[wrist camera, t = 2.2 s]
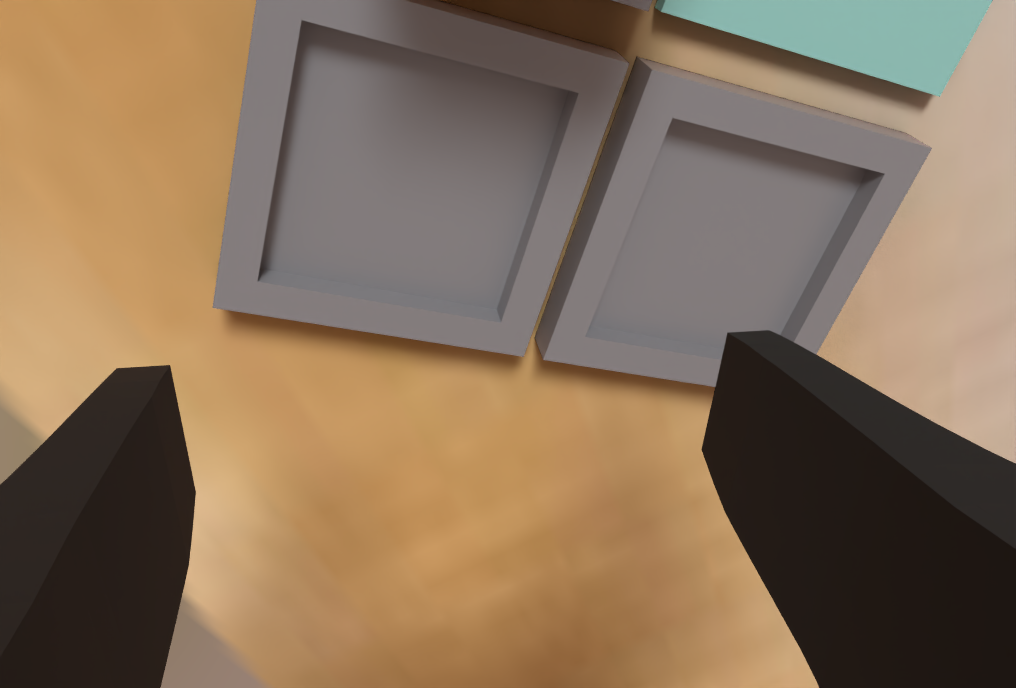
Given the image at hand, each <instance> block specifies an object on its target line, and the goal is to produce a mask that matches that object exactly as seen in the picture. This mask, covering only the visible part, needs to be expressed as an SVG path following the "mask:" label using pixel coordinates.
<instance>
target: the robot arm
mask: <svg viewBox="0 0 1016 688" xmlns="http://www.w3.org/2000/svg"><path fill="white" fill-rule="evenodd" d="M702 452H703V455H704V458H705V460H706V463H707V466H708V469H709V472H710V474H711V477H712V480H713V483H714V485H715V488H716V490H717V493H718V495H719V498H720V500H721V503H722V505H723V508H724V510H725V513H726V515H727V517H728V518H729V520H730V522H731V524H732V526H733V528H734V530H735V532H736V533H737V535H738V537H739V539H740V541H741V543H742V544H743V546H744V548H745V550H746V552H747V554H748V556H749V557H750V559H751V561H752V563H753V565H754V566H755V568H756V570H757V572H758V574H759V575H760V577H761V579H762V581H763V583H764V584H765V586H766V588H767V590H768V591H769V593H770V595H771V597H772V599H773V600H774V602H775V604H776V606H777V608H778V609H779V611H780V613H781V615H782V617H783V618H784V620H785V622H786V624H787V626H788V627H789V629H790V631H791V633H792V635H793V636H794V638H795V640H796V642H797V644H798V645H799V647H800V649H801V651H802V653H803V655H804V657H805V659H806V661H807V663H808V665H809V667H810V669H811V671H812V673H813V675H814V677H815V679H816V681H817V683H818V685H819V688H1016V464H1015V463H1013V462H1011V461H1009V460H1007V459H1005V458H1003V457H1000V456H998V455H996V454H994V453H992V452H990V451H988V450H986V449H984V448H982V447H980V446H978V445H976V444H974V443H973V442H971V441H969V440H967V439H965V438H963V437H961V436H959V435H957V434H955V433H953V432H951V431H949V430H947V429H945V428H944V427H942V426H940V425H938V424H936V423H934V422H932V421H931V420H929V419H927V418H925V417H923V416H921V415H920V414H918V413H916V412H914V411H912V410H911V409H909V408H907V407H905V406H904V405H902V404H900V403H898V402H896V401H895V400H893V399H891V398H890V397H888V396H886V395H884V394H883V393H881V392H879V391H877V390H876V389H874V388H872V387H871V386H869V385H867V384H865V383H864V382H862V381H860V380H859V379H857V378H855V377H854V376H852V375H850V374H848V373H847V372H845V371H843V370H842V369H840V368H838V367H836V366H835V365H833V364H831V363H830V362H828V361H826V360H825V359H823V358H821V357H819V356H818V355H816V354H814V353H812V352H811V351H809V350H807V349H805V348H804V347H802V346H800V345H798V344H796V343H794V342H793V341H791V340H789V339H787V338H785V337H783V336H781V335H779V334H777V333H774V332H772V331H770V330H763V331H746V332H729V333H727V336H726V341H725V346H724V350H723V355H722V359H721V364H720V368H719V373H718V377H717V382H716V387H715V391H714V396H713V400H712V405H711V409H710V414H709V418H708V423H707V428H706V432H705V437H704V441H703V446H702ZM195 495H196V491H195V486H194V481H193V476H192V471H191V466H190V461H189V456H188V452H187V447H186V442H185V437H184V432H183V427H182V422H181V417H180V412H179V407H178V402H177V397H176V392H175V388H174V383H173V378H172V373H171V368H170V365H166V366H149V367H131V368H117V369H116V370H115V371H114V372H113V373H112V374H111V375H110V376H109V377H108V378H107V379H106V380H105V381H104V382H103V383H102V384H101V385H100V386H99V387H98V388H97V389H96V390H95V391H94V392H93V393H92V394H91V395H90V396H89V397H88V398H87V399H86V400H85V401H84V402H83V403H82V404H81V405H80V406H79V407H78V408H77V409H76V410H75V411H74V412H73V413H72V414H71V415H70V416H69V417H68V418H67V419H66V420H65V422H64V423H63V424H62V425H61V426H60V427H59V428H58V429H57V430H56V431H55V432H54V433H53V434H52V435H51V436H50V437H49V438H48V439H47V440H46V441H45V442H44V443H43V444H42V445H41V446H40V447H39V448H38V449H37V450H36V451H35V452H34V453H33V454H32V455H31V456H30V457H29V458H28V459H27V460H26V461H25V462H24V463H23V464H22V465H21V466H20V467H18V469H16V470H15V471H14V472H13V473H12V474H11V475H10V476H9V477H8V478H7V479H6V480H5V481H4V482H3V483H2V484H1V485H0V688H160V687H161V683H162V678H163V674H164V670H165V666H166V662H167V657H168V653H169V649H170V645H171V641H172V636H173V632H174V627H175V624H176V619H177V615H178V610H179V606H180V602H181V597H182V593H183V589H184V584H185V580H186V575H187V570H188V566H189V558H190V549H191V539H192V529H193V518H194V506H195Z"/></svg>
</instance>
